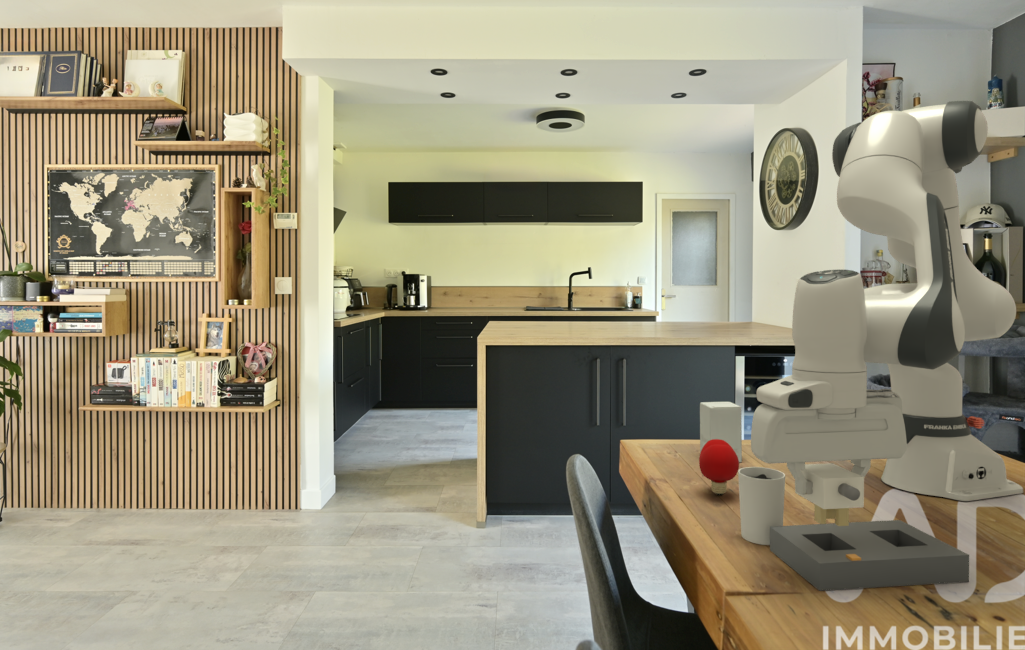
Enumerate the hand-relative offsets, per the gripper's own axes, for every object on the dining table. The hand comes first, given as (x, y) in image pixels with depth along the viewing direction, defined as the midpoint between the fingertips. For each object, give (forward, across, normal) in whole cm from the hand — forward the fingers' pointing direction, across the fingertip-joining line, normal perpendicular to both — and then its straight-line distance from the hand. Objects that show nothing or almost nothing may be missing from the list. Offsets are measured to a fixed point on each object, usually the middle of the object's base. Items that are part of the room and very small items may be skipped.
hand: (828, 492), depth 79 cm
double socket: (+10, -5, 0) cm, 11 cm away
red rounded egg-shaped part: (+10, +2, -30) cm, 32 cm away
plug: (+4, 0, 0) cm, 4 cm away
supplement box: (+10, -9, -54) cm, 56 cm away
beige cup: (+10, +4, -11) cm, 15 cm away
